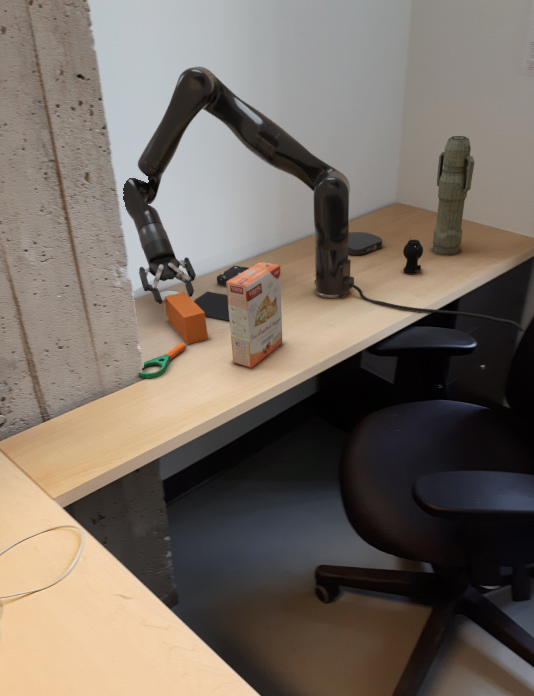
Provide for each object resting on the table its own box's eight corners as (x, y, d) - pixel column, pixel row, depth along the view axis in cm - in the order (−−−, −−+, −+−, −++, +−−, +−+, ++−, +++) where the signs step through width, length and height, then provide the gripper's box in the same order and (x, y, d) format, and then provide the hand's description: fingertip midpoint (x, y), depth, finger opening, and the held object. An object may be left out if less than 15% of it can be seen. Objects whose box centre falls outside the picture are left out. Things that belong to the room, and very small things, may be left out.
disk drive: (217, 285, 181) (259, 292, 175) (215, 277, 179) (258, 283, 173) (234, 273, 188) (275, 279, 182) (233, 265, 187) (275, 270, 181)
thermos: (455, 258, 191) (469, 142, 171) (423, 250, 198) (433, 138, 178) (468, 250, 196) (484, 137, 177) (437, 243, 203) (449, 133, 184)
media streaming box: (356, 236, 212) (356, 228, 210) (386, 246, 203) (387, 237, 201) (326, 247, 204) (326, 238, 203) (357, 257, 195) (357, 249, 193)
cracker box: (253, 369, 139) (246, 285, 127) (232, 363, 141) (223, 281, 130) (284, 344, 148) (281, 264, 137) (264, 338, 151) (259, 259, 139)
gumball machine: (425, 274, 181) (428, 243, 175) (407, 277, 180) (409, 245, 174) (416, 267, 186) (418, 235, 181) (398, 269, 185) (400, 238, 180)
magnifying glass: (152, 380, 136) (151, 374, 135) (133, 374, 139) (131, 368, 138) (193, 351, 147) (192, 345, 146) (174, 346, 150) (173, 340, 149)
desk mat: (266, 303, 168) (266, 302, 168) (241, 324, 158) (241, 322, 158) (207, 292, 176) (207, 291, 176) (180, 311, 166) (180, 310, 166)
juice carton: (166, 318, 163) (161, 293, 159) (185, 314, 165) (181, 288, 161) (187, 344, 150) (183, 317, 146) (208, 338, 152) (204, 312, 148)
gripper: (131, 243, 154) (151, 299, 152) (183, 232, 159) (203, 287, 157) (129, 256, 161) (149, 310, 159) (179, 246, 166) (198, 298, 164)
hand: (176, 299), depth 158 cm, fingers open, 8 cm apart
